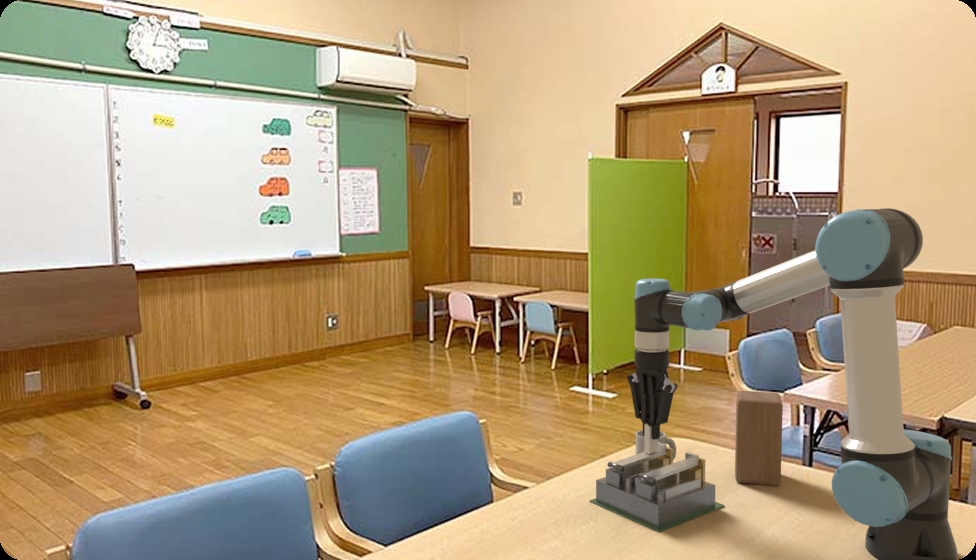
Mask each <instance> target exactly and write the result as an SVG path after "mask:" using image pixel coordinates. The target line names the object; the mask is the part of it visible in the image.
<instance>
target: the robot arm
mask: <svg viewBox="0 0 976 560" xmlns="http://www.w3.org/2000/svg"><path fill="white" fill-rule="evenodd" d="M923 243H924V237H923V232H922V229H921V227H920V225H919V223H918V222H917V221H916V220H915V218H914V217H912V215H910V214H908V213H906V212H905V211H902V210H899V209H896V208H875V209H873V208H872V209H871V208H870V209H868V208H867V209H863V208H862V209H859V208H857V209H854V210H848V211H845V212H841V213H839V214H837V215H835V216H833V217H831V218H830V219H829V220H827V222H826V223H825V224H824V225H823V226H822V228H821V229H820V230H819V232H818V235H817V238H816V242H815V247H814V250H811V251H809V252H807V253H804V254H802V255H799V256H796V257H794V258H791V259H789V260H786V261H784V262H781V263H779V264H777V265H773V266H772V267H769V268H767V269H764V270H761V271H759V272H757V273H754V274H751V275H749V276H747V277H743V278H741V279H738V280H736V281H734V282H731V283H729V284H726V285H723V286H720V287H717V288H710V289H702V290H696V291H680V290H679V291H678V290H673V289H672V288H671V283H670V280H668V279H665V278H642V279H639V280H638V281H636V283H635V289H634V290H635V292H634V299H633V300H634V319H635V320H634V322H635V323H634V324H635V325H634V347H635V350H634V365H635V366H636V368H635V370H634V371H635V372H634V373H633V374H629V375H627V376H626V379H627V382H628V384H629V386H630V391H631V398H632V404H633V411H634V416H635V418H636V419H639V420H640V421H641V423H642V430H643V436H644V452H645V453H648V454H651V453H654V452H657V451H658V439H659V438H660V431H661V425H664V424H667V423H668V421H669V417H670V412H671V408H672V402H673V397H674V394H675V392H676V391H677V389H678V384H677V383H675V382H674V383H672V381H670V379H669V374H668V368H669V366H670V351H669V347H670V326H674V327H679V328H685V329H691V330H694V331H712V330H713V329H715V328H716V326H718V325H719V324H720V323H723V322H733V321H737V320H741V319H743V318H745V317H746V316H747V315H749V314H752V313H755V312H757V311H760V310H763V309H766V308H770V307H773V306H775V305H778V304H780V303H783V302H786V301H789V300H792V299H795V298H797V297H802V296H803V295H806V294H809V293H812V292H815V291H818V290H820V289H823V288H826V287H829V291H831V292H832V293H833V294H834V295H835V296H837V297H838V299H839V300H840V304H839V305H840V315H841V329H842V330H841V331H842V344H843V345H842V347H843V359H844V376H845V389H846V390H845V392H846V403H847V407H846V408H847V419H848V420H847V421H848V434H847V435H846V436H845V437H844V438H843V439H842V440H841V441H840V452H841V453H840V455H841V464H840V465H839V466H838V468H837V469H836V470H835V471H834V473H833V475H832V479H831V489H832V495H833V497H834V499H835V501H836V503H837V505H838V506H839V508H840V509H841V510H842V511H844V512H845V513H846V515H847V516H848V517H849V518H851V519H853V521H856V522H858V523H860V524H862V525H865V526H868V528H867V530H866V533H865V540H864V541H865V544H864V545H865V549H866V550H867V551H868V553H869V554H871V556H873V557H874V558H876V559H877V560H958V558H957V557H958V548H957V544H956V541H955V538H954V535H953V532H952V528H951V525H950V522H949V500H950V485H951V483H950V482H951V468H952V466H951V465H952V460H953V456H952V446H951V444H950V442H949V441H948V440H947V439H945V438H943V437H942V436H938V435H936V434H932V433H928V432H923V431H917V430H912V429H911V430H910V429H905V428H904V418H903V417H904V415H903V403H902V387H901V385H902V384H901V373H900V372H901V370H900V357H899V341H898V326H897V324H898V323H897V310H896V309H897V308H896V307H897V306H896V295H898V293H899V292H900V291H901V290H902V289H903V288H904V287H905V281H904V279H905V277H904V269H906V268H908V267H910V265H912V264H913V263H914V262H915V261H916V260H917V259H918V257H919V256H920V254H921V251H922V248H923V245H924V244H923Z"/></svg>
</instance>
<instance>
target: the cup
mask: <svg viewBox="0 0 976 560" xmlns="http://www.w3.org/2000/svg"><path fill="white" fill-rule="evenodd" d="M666 436H667V434H666V432H663V431H662V430H660V438H659V439H658V442H660V443H663V444H666V445H668V447H669V448H672V449H673V461H674V460H675V459H676V456H677V445H676V443H675V440H673V438H671V437H668V436H667V437H666ZM643 452H644V436H643V429H642V430H638V431H636V432H635V455H637V454H640V453H643ZM648 463H649V460H648V461H645V465H646V464H648Z"/></svg>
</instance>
